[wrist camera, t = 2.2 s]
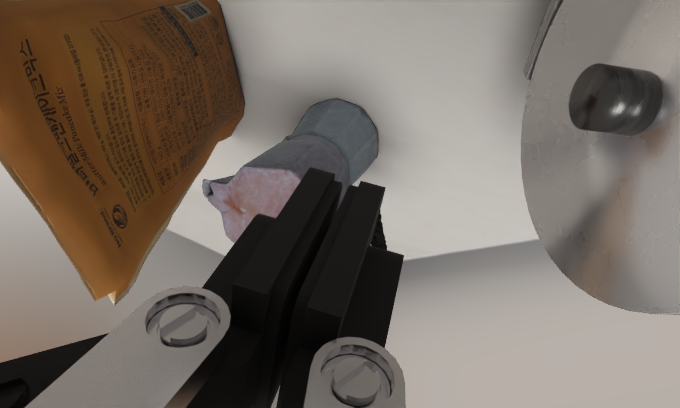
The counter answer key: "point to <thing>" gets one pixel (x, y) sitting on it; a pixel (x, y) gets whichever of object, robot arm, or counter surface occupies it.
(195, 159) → the pancake mix bag
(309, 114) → the moka pot
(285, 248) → the robot arm
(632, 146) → the lid
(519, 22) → the counter surface
